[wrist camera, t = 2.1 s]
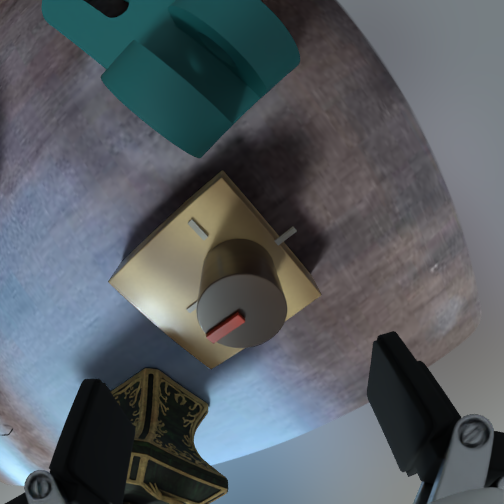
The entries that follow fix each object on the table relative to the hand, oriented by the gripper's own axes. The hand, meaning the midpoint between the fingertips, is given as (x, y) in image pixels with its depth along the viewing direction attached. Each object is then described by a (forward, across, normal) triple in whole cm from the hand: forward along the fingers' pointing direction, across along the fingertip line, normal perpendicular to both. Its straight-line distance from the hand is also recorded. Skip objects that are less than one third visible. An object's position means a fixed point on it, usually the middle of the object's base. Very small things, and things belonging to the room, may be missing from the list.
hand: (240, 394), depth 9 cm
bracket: (+13, +3, -16) cm, 21 cm away
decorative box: (+13, +14, +17) cm, 26 cm away
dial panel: (+13, +1, +1) cm, 13 cm away
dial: (+10, 0, 0) cm, 10 cm away
